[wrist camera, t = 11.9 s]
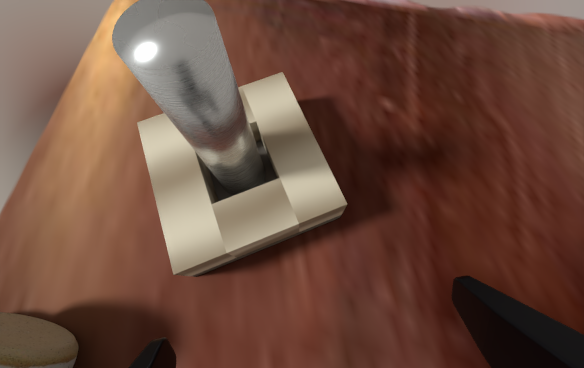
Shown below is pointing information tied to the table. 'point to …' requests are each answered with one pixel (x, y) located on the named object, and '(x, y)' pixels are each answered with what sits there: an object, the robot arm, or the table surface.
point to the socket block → (247, 205)
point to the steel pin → (192, 84)
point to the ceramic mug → (35, 343)
